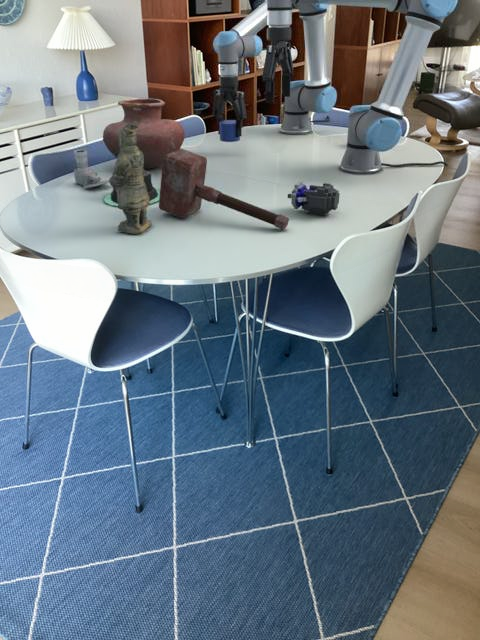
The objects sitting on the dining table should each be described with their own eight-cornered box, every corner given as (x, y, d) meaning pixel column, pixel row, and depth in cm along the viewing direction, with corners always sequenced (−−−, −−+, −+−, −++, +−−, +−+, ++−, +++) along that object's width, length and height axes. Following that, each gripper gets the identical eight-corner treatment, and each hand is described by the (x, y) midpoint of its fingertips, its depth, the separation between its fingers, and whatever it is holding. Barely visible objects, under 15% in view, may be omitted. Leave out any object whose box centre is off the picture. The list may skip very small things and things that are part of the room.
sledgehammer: (299, 190, 156) (179, 147, 167) (285, 200, 148) (161, 154, 160) (286, 244, 166) (174, 200, 177) (272, 256, 158) (156, 209, 170)
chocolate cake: (91, 202, 180) (113, 186, 197) (142, 231, 182) (160, 212, 199) (107, 162, 172) (129, 148, 190) (160, 192, 174) (177, 176, 192)
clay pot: (194, 158, 230) (190, 94, 217) (174, 179, 204) (168, 107, 192) (124, 156, 235) (116, 93, 222) (96, 176, 209) (85, 106, 197)
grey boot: (85, 147, 201) (110, 154, 192) (90, 179, 207) (114, 187, 198) (64, 151, 195) (89, 159, 186) (70, 184, 201) (94, 193, 193)
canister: (216, 140, 229) (215, 122, 226) (227, 136, 235) (226, 119, 232) (232, 142, 225) (232, 124, 222) (243, 138, 232) (243, 121, 228)
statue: (131, 220, 168) (117, 116, 152) (158, 224, 164) (147, 118, 149) (109, 233, 159) (93, 124, 144) (138, 237, 156) (124, 126, 140)
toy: (295, 178, 172) (342, 184, 166) (295, 205, 177) (340, 211, 171) (285, 186, 166) (333, 192, 160) (284, 213, 170) (331, 220, 164)
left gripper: (201, 75, 221) (204, 133, 232) (244, 78, 210) (245, 139, 222) (213, 73, 226) (215, 130, 238) (256, 76, 215) (256, 136, 227)
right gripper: (283, 24, 182) (282, 93, 192) (250, 28, 163) (251, 105, 173) (304, 24, 179) (302, 94, 190) (274, 28, 160) (273, 106, 170)
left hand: (229, 135), depth 230 cm, fingers closed on canister, 8 cm apart
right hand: (278, 99), depth 181 cm, fingers open, 13 cm apart
